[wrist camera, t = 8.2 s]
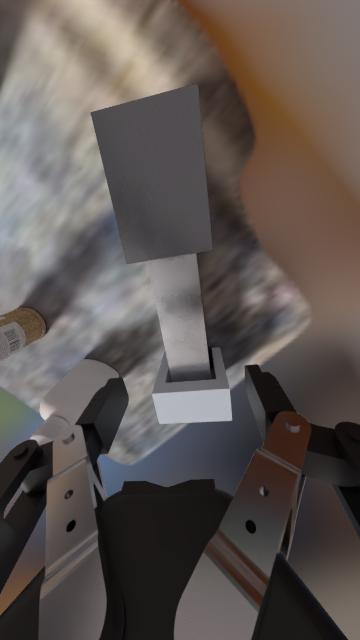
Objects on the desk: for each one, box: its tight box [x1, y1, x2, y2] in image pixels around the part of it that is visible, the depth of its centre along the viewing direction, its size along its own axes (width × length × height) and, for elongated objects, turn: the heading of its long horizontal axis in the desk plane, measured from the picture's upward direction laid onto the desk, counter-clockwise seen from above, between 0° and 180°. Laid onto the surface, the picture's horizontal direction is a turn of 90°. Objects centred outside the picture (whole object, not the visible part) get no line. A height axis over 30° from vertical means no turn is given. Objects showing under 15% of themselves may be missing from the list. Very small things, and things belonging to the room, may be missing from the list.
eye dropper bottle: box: [30, 359, 119, 446], centre depth 21 cm, size 4×6×12 cm
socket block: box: [152, 347, 232, 424], centre depth 21 cm, size 4×7×8 cm, turn 99°
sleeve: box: [91, 83, 213, 264], centre depth 16 cm, size 9×6×7 cm
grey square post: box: [147, 253, 211, 382], centre depth 20 cm, size 16×4×5 cm, turn 9°
